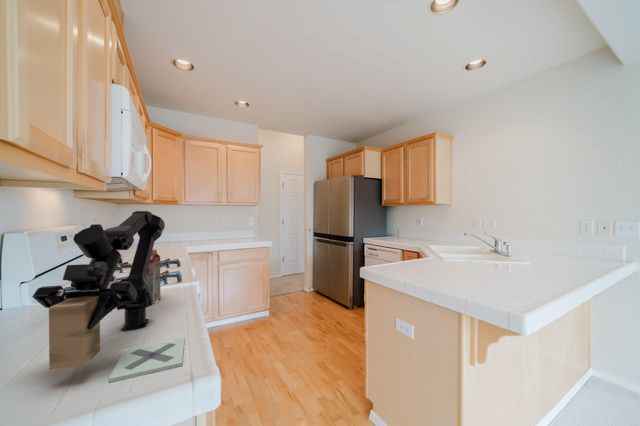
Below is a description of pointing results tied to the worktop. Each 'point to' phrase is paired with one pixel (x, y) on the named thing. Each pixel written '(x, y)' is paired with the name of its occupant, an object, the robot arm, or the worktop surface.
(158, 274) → the juice carton
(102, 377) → the worktop surface
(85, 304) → the walnut block
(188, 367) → the worktop surface
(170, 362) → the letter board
